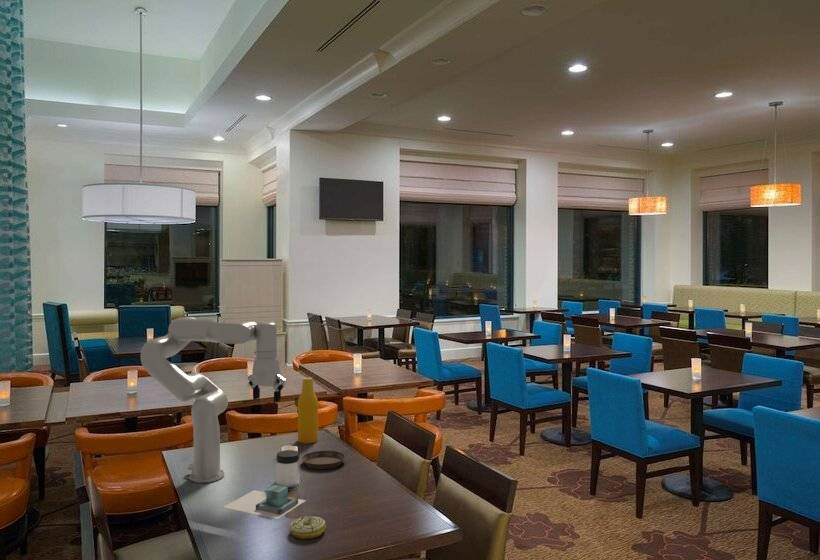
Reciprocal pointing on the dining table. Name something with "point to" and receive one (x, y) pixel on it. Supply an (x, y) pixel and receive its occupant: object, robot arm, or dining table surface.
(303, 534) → the decorated donut
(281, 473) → the jar
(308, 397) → the beer bottle
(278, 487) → the teal block
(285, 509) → the board
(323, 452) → the plant saucer
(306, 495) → the dining table surface
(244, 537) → the dining table surface
